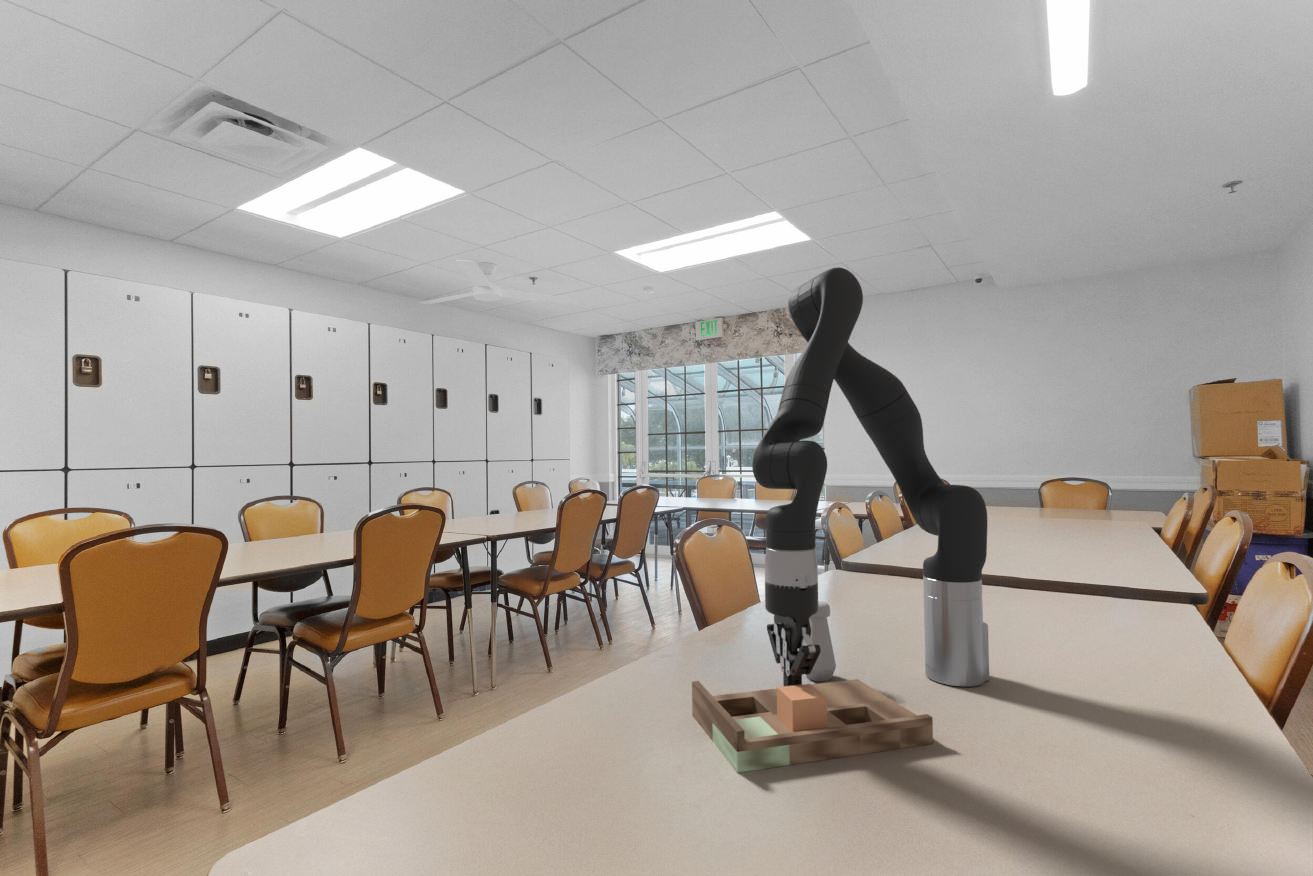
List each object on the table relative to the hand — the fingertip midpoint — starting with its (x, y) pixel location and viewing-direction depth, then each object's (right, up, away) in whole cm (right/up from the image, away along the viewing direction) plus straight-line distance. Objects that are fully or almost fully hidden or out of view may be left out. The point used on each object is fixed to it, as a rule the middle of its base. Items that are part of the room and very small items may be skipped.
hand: (792, 699), depth 92 cm
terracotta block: (0, -1, -5) cm, 5 cm away
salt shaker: (+9, -4, +19) cm, 21 cm away
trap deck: (+2, -4, -1) cm, 4 cm away
